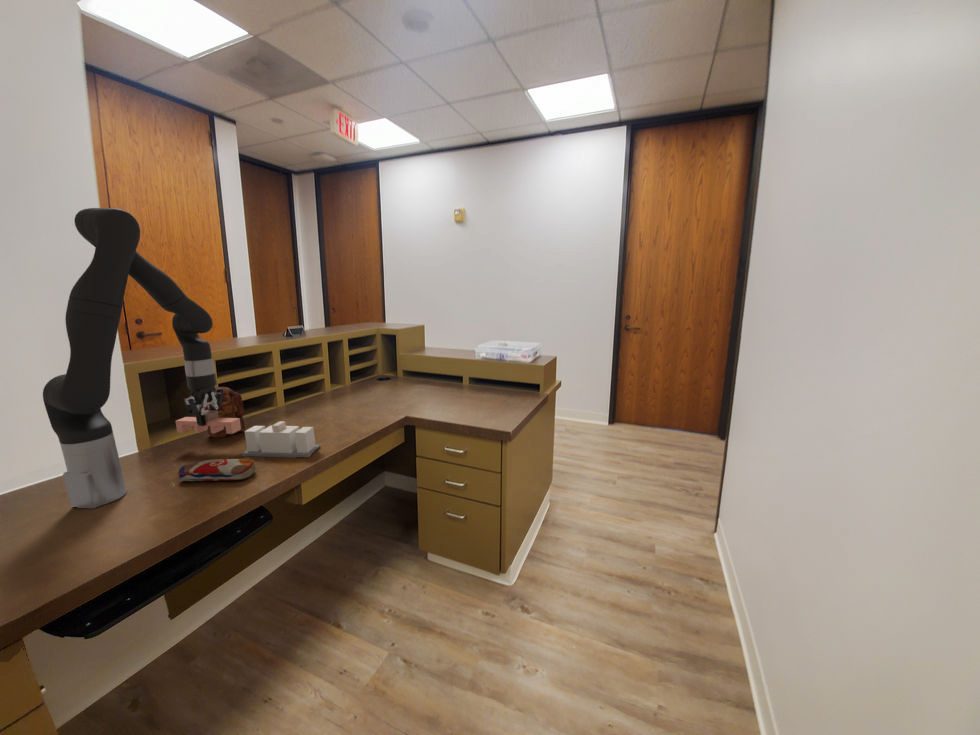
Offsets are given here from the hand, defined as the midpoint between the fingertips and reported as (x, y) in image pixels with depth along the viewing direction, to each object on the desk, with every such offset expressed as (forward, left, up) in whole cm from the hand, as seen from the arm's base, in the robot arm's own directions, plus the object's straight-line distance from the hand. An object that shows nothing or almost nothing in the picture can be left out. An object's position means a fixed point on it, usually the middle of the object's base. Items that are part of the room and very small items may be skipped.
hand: (208, 422), depth 124 cm
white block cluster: (0, -24, -10) cm, 26 cm away
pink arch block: (0, 0, -3) cm, 3 cm away
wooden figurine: (+14, +6, -10) cm, 18 cm away
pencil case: (-17, -16, -10) cm, 26 cm away
